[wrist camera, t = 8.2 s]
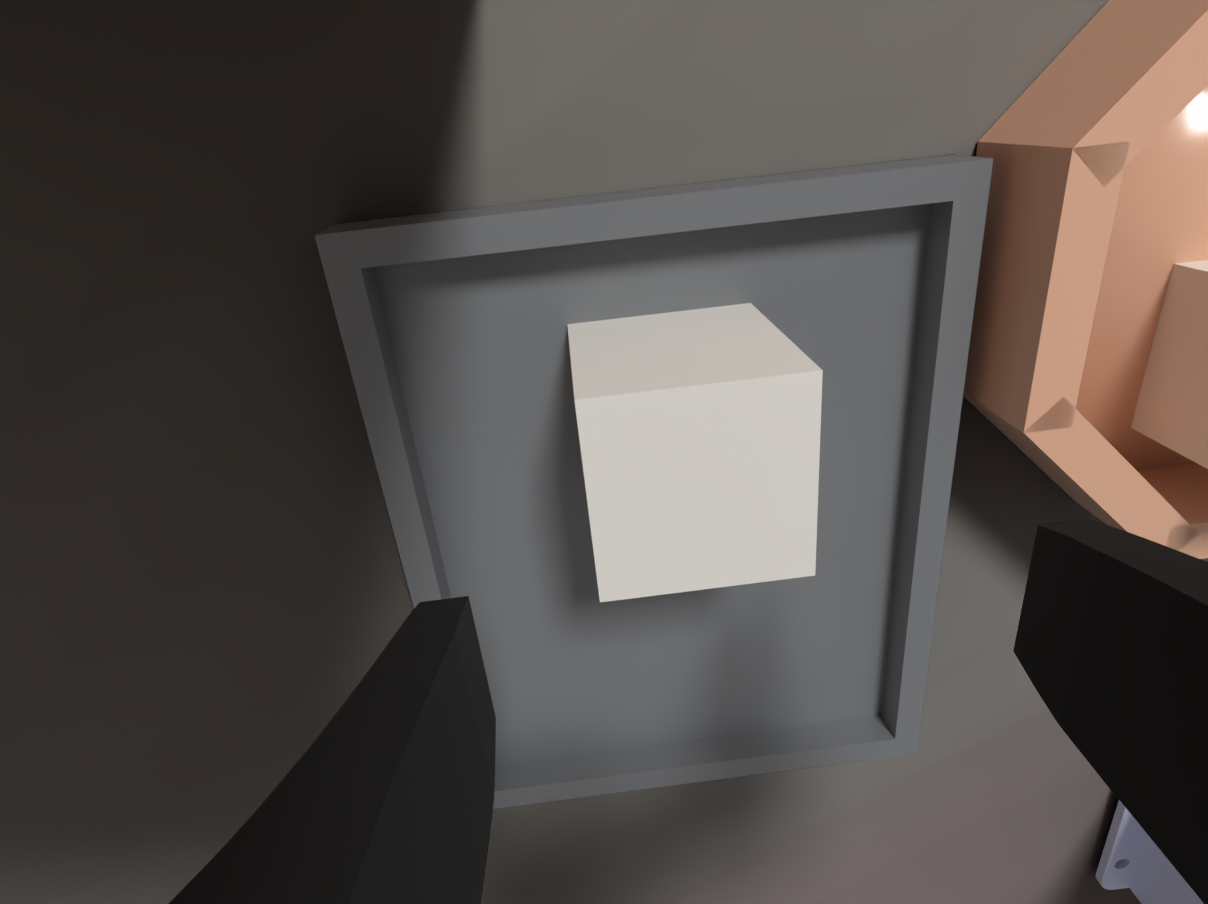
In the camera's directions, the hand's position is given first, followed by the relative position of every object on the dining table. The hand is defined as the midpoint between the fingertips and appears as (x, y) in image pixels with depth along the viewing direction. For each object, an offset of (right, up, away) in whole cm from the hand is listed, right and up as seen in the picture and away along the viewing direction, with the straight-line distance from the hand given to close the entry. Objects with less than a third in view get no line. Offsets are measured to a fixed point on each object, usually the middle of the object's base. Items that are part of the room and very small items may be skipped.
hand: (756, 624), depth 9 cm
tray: (0, +1, +9) cm, 9 cm away
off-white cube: (-1, +3, +7) cm, 8 cm away
